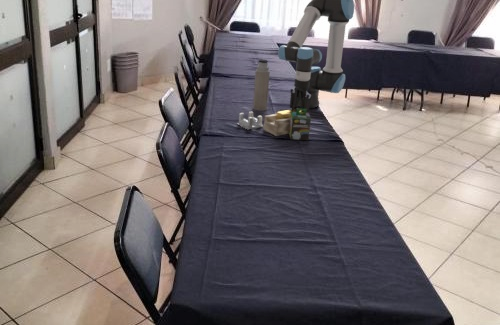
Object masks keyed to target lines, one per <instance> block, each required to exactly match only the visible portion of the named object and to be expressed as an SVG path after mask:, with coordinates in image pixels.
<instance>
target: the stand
mask: <svg viewBox="0 0 500 325" xmlns="http://www.w3.org/2000/svg"><path fill="white" fill-rule="evenodd" d="M238 115H239V117H238V122H237V123H236V125H237V124H238V125H240V126H241V128H242V127H243V128H242V129H244V128H245V129H244V130H246V129H247V130H246V131H250V130H249V129H251V130H255V129H260V128H264V124H263V116H262V115H257V117H255V116H254V112H253V111H248V117H247V119H246V118H245V113H244V112H240V113H239V114H238ZM238 125H237V126H238ZM240 126H239V127H240Z"/></svg>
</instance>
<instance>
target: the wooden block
mask: <svg viewBox="0 0 500 325" xmlns="http://www.w3.org/2000/svg"><path fill="white" fill-rule="evenodd" d="M291 112H297V109H292V108H291V109H287V110H281V111H280V110H279V111H277V112H276V114H277V116H276V120H279V119H284V118H290V116H291ZM299 112H301V111H299Z"/></svg>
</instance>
